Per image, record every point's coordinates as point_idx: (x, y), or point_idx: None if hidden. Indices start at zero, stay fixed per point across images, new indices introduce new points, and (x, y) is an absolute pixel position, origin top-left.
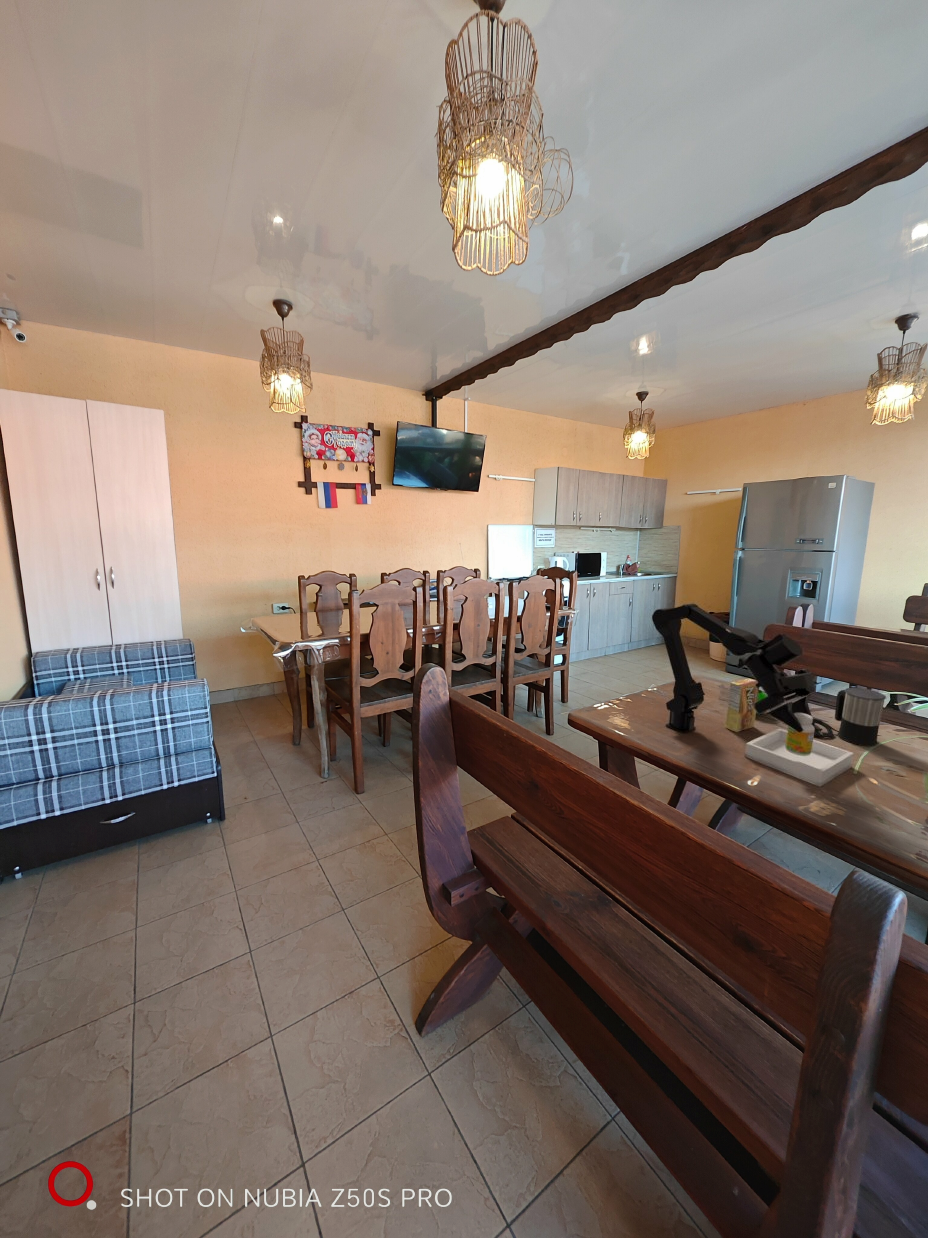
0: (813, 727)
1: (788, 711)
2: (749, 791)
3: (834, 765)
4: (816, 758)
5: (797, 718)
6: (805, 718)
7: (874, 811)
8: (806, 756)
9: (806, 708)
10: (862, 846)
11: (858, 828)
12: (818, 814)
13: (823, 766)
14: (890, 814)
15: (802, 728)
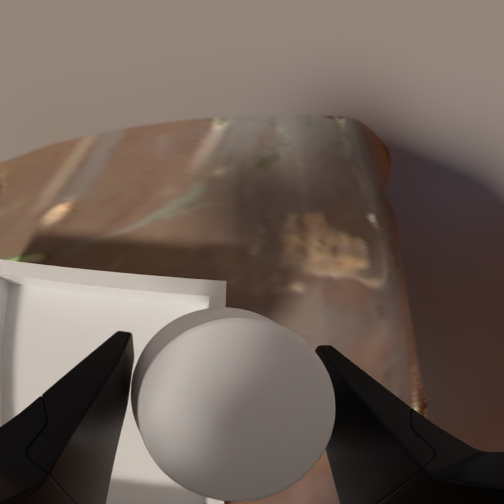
0: (206, 315)
1: (477, 451)
2: (407, 387)
3: (118, 273)
4: (39, 357)
5: (326, 423)
6: (308, 360)
7: (237, 172)
8: (50, 386)
9: (61, 445)
10: (387, 171)
11: (342, 182)
12: (366, 247)
13: (82, 324)
14: (221, 150)
15: (328, 351)
